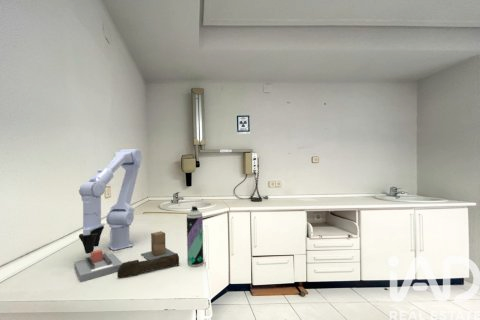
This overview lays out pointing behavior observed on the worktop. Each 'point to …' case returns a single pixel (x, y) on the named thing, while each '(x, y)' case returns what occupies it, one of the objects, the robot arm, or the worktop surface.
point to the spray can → (194, 237)
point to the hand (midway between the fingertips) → (92, 249)
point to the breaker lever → (97, 256)
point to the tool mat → (150, 256)
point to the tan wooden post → (158, 243)
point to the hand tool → (146, 265)
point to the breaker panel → (97, 267)
